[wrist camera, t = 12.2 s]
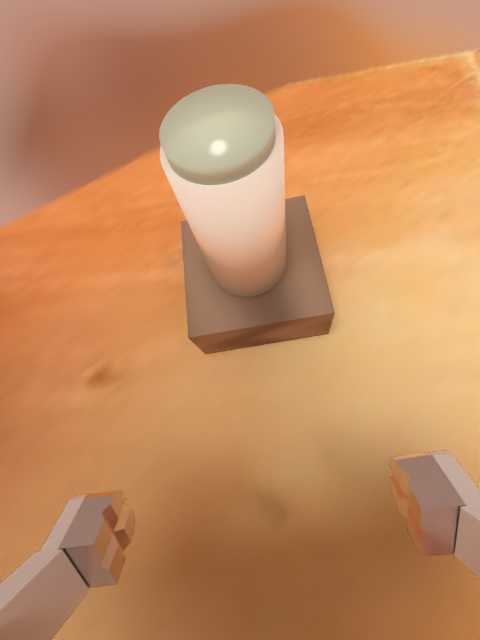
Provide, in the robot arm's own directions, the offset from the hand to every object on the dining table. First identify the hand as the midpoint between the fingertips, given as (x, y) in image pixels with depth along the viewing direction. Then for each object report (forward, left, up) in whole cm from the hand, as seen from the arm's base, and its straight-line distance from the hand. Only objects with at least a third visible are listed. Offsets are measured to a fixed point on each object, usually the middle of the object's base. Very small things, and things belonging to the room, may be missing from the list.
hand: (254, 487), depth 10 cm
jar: (0, +12, -7) cm, 14 cm away
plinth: (+1, +12, -11) cm, 17 cm away
